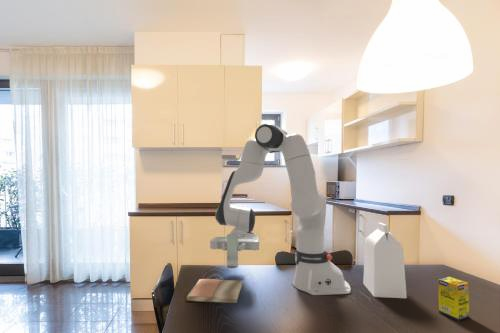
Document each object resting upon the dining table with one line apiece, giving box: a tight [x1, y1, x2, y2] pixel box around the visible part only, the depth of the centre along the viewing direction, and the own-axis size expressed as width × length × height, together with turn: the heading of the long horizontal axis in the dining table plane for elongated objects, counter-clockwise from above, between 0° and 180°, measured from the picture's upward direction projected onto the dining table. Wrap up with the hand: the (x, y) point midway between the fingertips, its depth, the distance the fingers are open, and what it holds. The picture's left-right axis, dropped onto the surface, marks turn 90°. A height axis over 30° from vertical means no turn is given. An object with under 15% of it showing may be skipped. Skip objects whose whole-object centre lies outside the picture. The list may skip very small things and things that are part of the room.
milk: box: [363, 222, 408, 299], centre depth 103 cm, size 12×12×26 cm
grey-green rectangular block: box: [226, 233, 239, 269], centre depth 101 cm, size 4×4×12 cm
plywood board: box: [186, 278, 243, 304], centre depth 101 cm, size 18×16×2 cm
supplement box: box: [437, 276, 470, 322], centre depth 84 cm, size 6×6×11 cm
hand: (232, 248), depth 100 cm, fingers closed on grey-green rectangular block, 4 cm apart
